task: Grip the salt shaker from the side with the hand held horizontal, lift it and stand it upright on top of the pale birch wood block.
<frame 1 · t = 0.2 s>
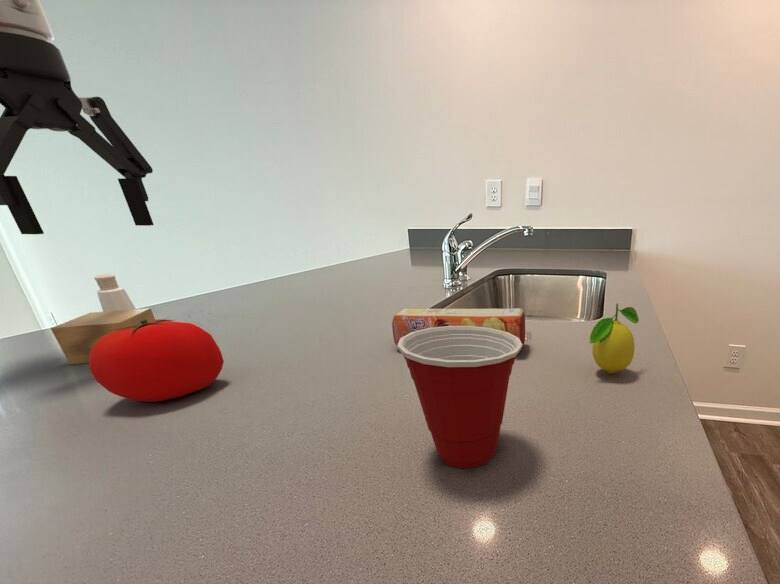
hand: (94, 229, 57), 20 cm above the countertop, tool pointing down, fingers open, 13 cm apart
lemon: (611, 374, 57), on the countertop
tomato: (175, 393, 54), on the countertop
wood block: (120, 351, 69), on the countertop
plastic cup: (469, 452, 41), on the countertop
salt shaker: (130, 334, 78), on the countertop
snack package: (461, 349, 67), on the countertop
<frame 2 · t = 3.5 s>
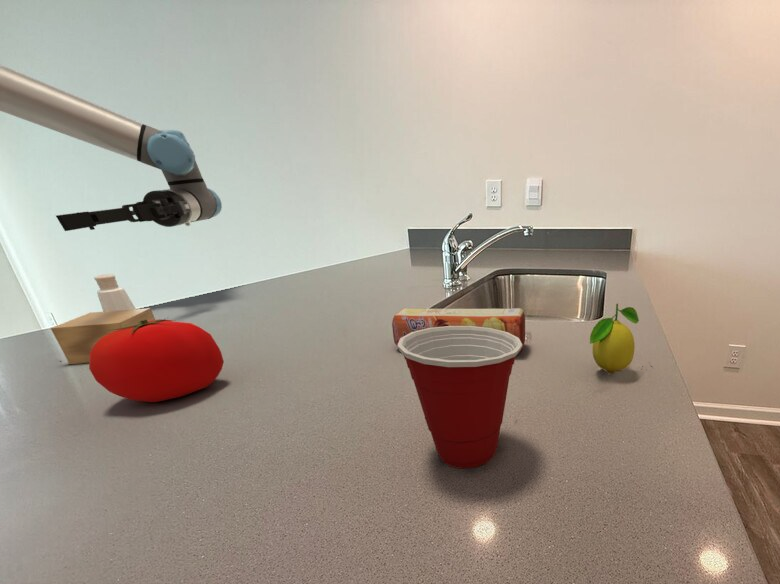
hand: (100, 218, 75), 20 cm above the countertop, tool horizontal, fingers open, 13 cm apart
nothing on the countertop moved.
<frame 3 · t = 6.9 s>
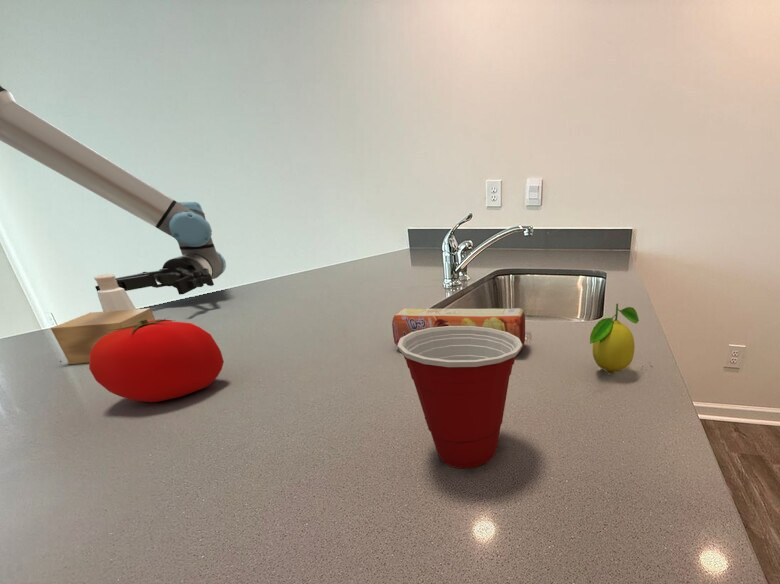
hand: (140, 290, 82), 7 cm above the countertop, tool horizontal, fingers open, 13 cm apart
nothing on the countertop moved.
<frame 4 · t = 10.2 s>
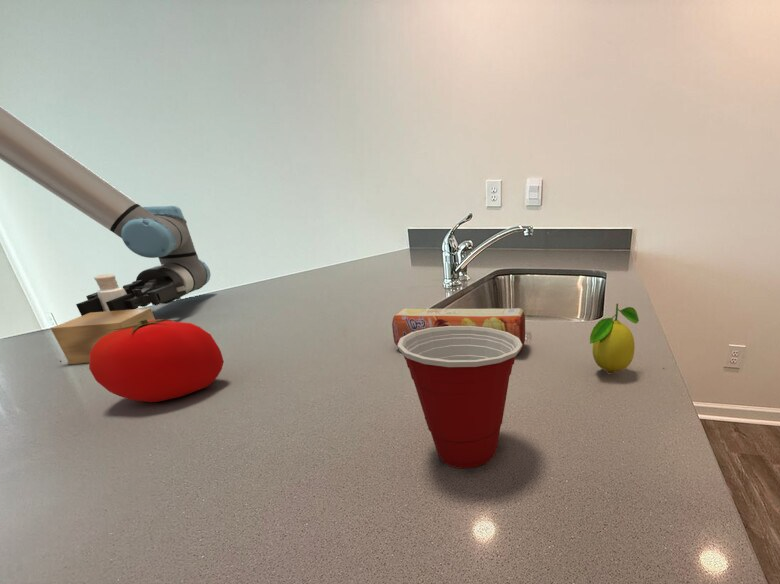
hand: (97, 310, 70), 6 cm above the countertop, tool horizontal, fingers closed on salt shaker, 4 cm apart
salt shaker: (130, 334, 78), on the countertop, touching gripper
everything else where it was.
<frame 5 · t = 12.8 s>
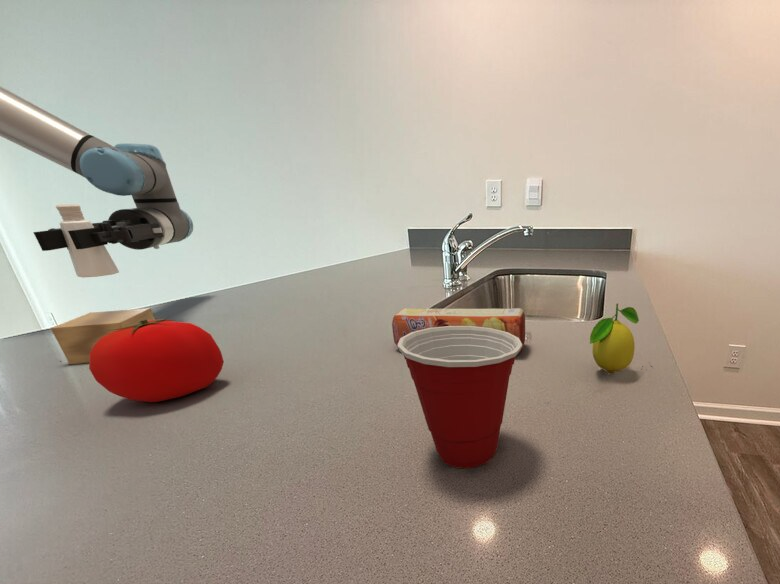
hand: (58, 240, 63), 18 cm above the countertop, tool horizontal, fingers closed on salt shaker, 4 cm apart
salt shaker: (99, 275, 70), point 12 cm above the countertop, touching gripper
everything else where it was.
when the fingers open (12 cm above the countertop, at t = 15.8 s): salt shaker stays where it is, resting on wood block.
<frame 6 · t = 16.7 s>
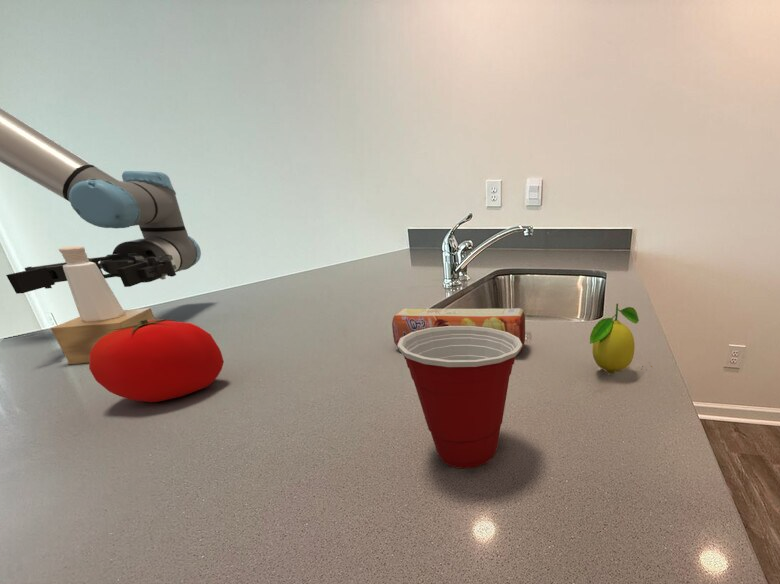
hand: (70, 281, 61), 13 cm above the countertop, tool horizontal, fingers open, 13 cm apart
salt shaker: (104, 318, 66), point 6 cm above the countertop, touching wood block
everything else where it was.
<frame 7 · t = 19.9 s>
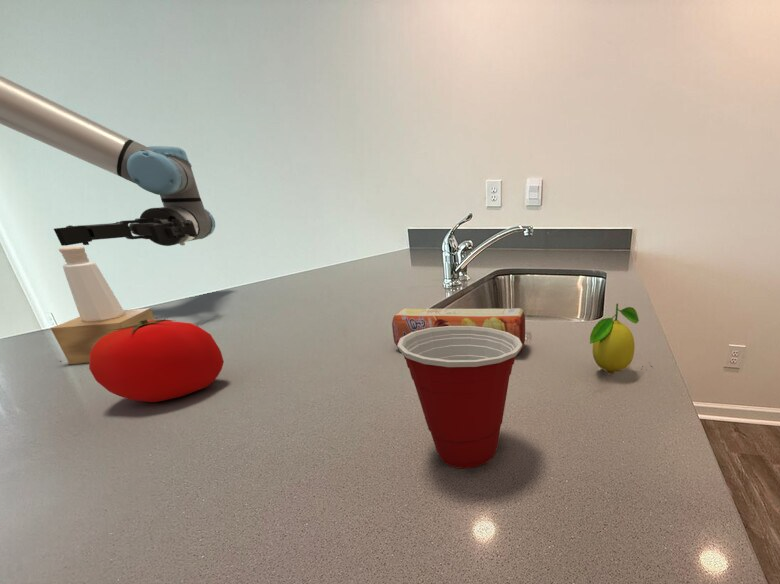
hand: (107, 235, 70), 18 cm above the countertop, tool horizontal, fingers open, 13 cm apart
nothing on the countertop moved.
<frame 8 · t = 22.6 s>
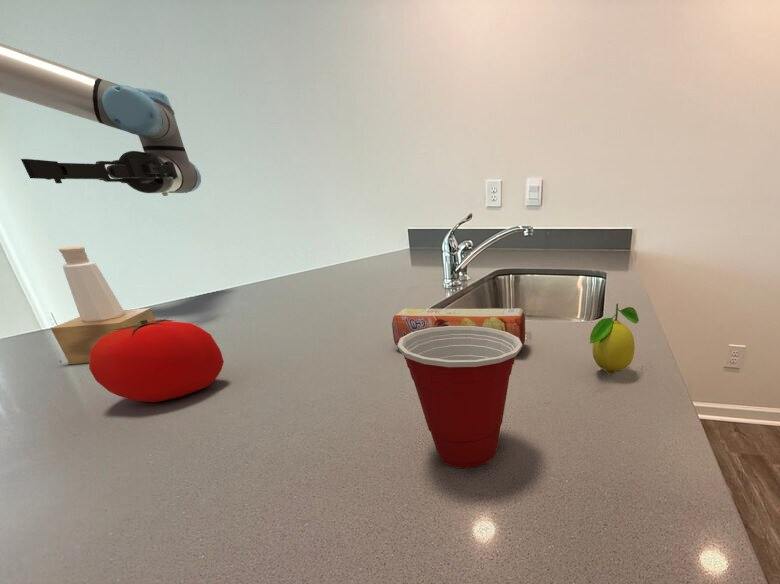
hand: (79, 168, 65), 28 cm above the countertop, tool horizontal, fingers open, 13 cm apart
nothing on the countertop moved.
at the end: salt shaker 0.0 cm off-centre on the wood block, point 5.8 cm above the wood block's base; salt shaker tilted 0°; the gripper is holding nothing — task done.
